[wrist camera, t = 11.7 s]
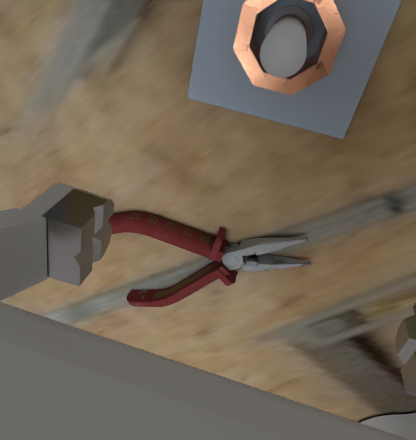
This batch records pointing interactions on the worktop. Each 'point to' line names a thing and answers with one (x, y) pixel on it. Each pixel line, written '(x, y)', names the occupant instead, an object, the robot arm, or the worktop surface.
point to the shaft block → (290, 60)
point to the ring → (312, 66)
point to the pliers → (206, 246)
